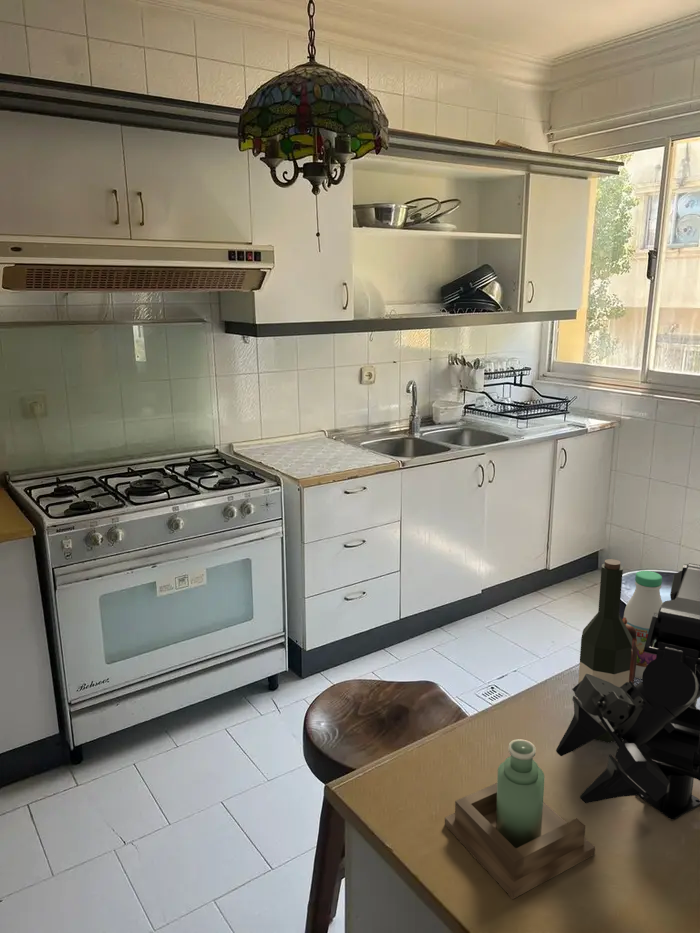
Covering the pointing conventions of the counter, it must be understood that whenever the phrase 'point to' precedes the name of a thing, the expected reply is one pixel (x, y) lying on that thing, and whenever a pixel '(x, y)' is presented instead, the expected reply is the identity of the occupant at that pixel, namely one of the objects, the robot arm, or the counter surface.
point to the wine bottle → (607, 636)
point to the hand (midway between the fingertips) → (569, 775)
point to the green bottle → (520, 795)
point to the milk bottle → (643, 613)
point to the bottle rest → (525, 863)
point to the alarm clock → (632, 651)
